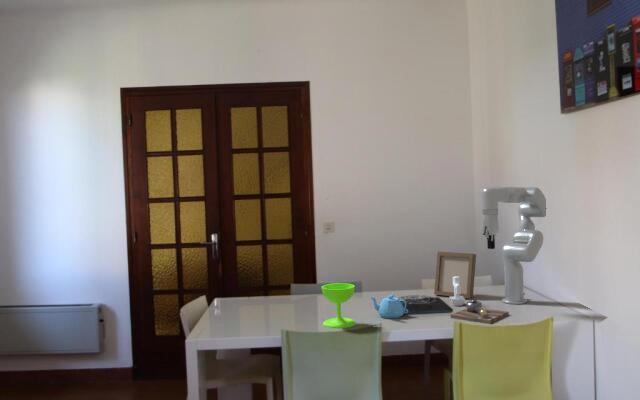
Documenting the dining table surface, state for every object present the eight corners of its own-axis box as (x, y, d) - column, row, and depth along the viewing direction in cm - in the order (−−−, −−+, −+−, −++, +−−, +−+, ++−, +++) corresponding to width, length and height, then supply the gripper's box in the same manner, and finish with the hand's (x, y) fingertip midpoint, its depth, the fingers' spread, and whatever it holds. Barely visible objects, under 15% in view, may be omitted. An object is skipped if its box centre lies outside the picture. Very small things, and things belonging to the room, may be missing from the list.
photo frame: (469, 300, 309) (468, 254, 309) (434, 295, 324) (432, 252, 323) (481, 295, 321) (479, 251, 320) (446, 291, 335) (445, 249, 334)
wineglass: (363, 323, 267) (361, 286, 266) (336, 330, 258) (334, 291, 257) (342, 317, 280) (341, 282, 279) (316, 323, 271) (314, 286, 270)
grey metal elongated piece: (465, 309, 281) (465, 299, 281) (479, 308, 281) (478, 298, 281) (477, 318, 262) (477, 307, 262) (492, 318, 262) (491, 307, 262)
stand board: (471, 309, 288) (470, 306, 288) (508, 314, 274) (508, 311, 274) (450, 317, 272) (450, 314, 272) (489, 323, 259) (489, 320, 259)
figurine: (452, 306, 295) (451, 278, 294) (448, 302, 304) (447, 275, 304) (466, 306, 295) (465, 278, 294) (462, 302, 304) (461, 274, 304)
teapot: (412, 316, 278) (411, 295, 278) (388, 321, 270) (387, 300, 270) (393, 311, 290) (392, 291, 290) (369, 315, 282) (369, 295, 282)
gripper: (489, 211, 293) (490, 246, 293) (476, 213, 281) (477, 250, 282) (503, 211, 287) (504, 247, 288) (490, 213, 276) (491, 250, 277)
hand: (491, 248), depth 285 cm, fingers closed
